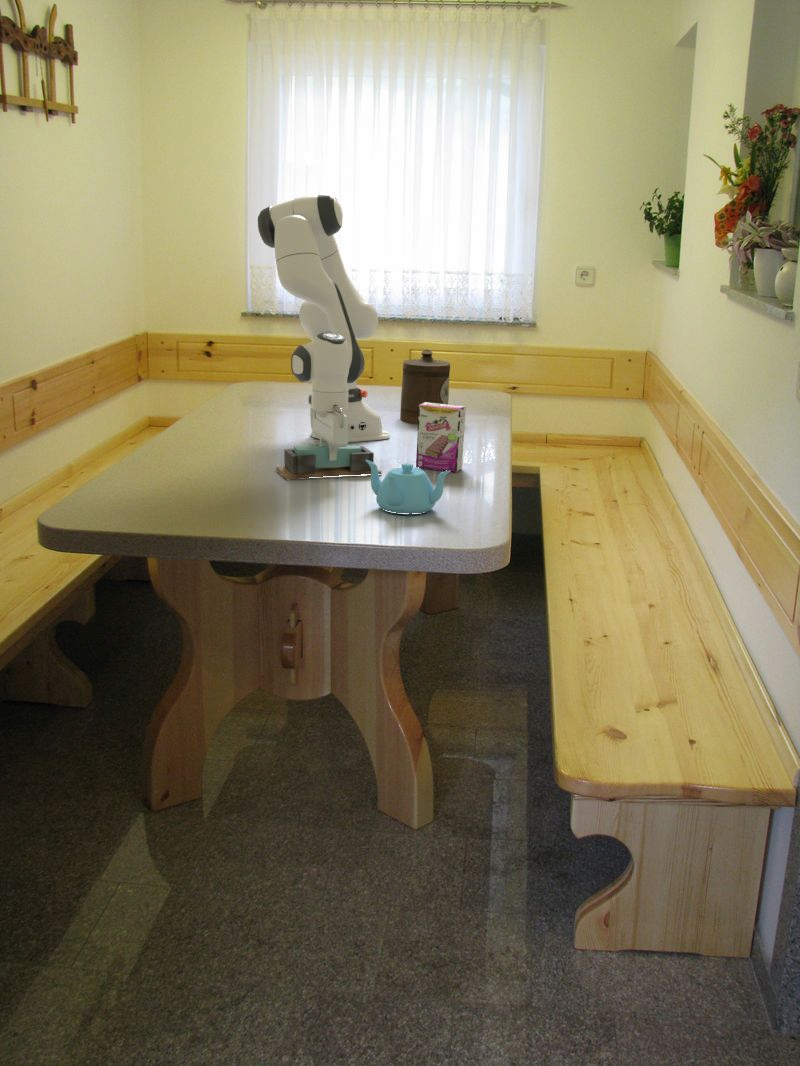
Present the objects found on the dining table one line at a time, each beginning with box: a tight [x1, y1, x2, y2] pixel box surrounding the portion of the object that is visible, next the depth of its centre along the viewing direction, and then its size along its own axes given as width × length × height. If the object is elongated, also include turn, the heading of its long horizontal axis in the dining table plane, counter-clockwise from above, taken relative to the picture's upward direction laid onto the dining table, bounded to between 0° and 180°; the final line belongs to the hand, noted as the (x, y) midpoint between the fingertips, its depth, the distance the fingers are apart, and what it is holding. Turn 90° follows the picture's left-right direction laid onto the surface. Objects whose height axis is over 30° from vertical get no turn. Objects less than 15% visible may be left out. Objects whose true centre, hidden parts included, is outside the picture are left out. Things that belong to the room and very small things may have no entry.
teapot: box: [366, 460, 452, 514], centre depth 241 cm, size 15×15×10 cm
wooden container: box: [399, 349, 451, 425], centre depth 343 cm, size 15×15×22 cm
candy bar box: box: [415, 402, 466, 473], centre depth 279 cm, size 11×5×16 cm, turn 71°
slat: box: [293, 444, 362, 468], centre depth 271 cm, size 16×4×4 cm, turn 110°
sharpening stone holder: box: [276, 445, 382, 480], centre depth 272 cm, size 24×10×6 cm, turn 110°
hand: (328, 457), depth 271 cm, fingers closed on slat, 4 cm apart
